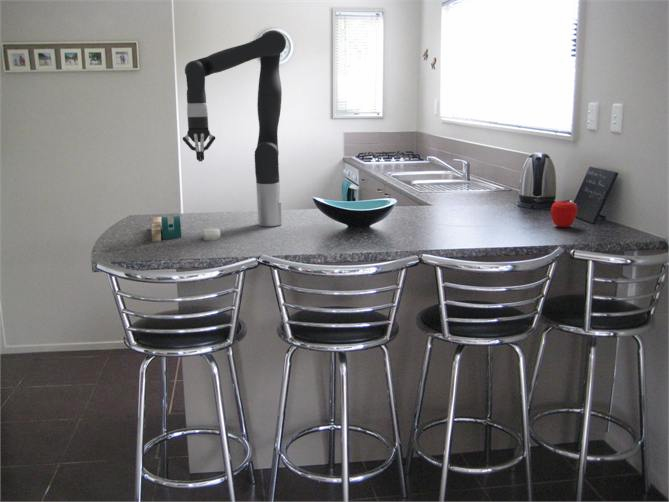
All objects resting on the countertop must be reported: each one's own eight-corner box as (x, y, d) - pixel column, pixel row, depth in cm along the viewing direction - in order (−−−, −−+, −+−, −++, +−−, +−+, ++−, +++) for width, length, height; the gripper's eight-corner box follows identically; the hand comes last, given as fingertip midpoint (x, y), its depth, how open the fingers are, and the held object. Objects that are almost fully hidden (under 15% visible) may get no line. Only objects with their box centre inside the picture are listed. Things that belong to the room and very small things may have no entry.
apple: (545, 227, 259) (547, 199, 256) (556, 223, 266) (558, 196, 263) (569, 230, 253) (571, 202, 250) (580, 226, 259) (582, 199, 257)
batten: (162, 227, 268) (161, 216, 266) (160, 241, 245) (159, 229, 244) (154, 228, 267) (153, 216, 266) (152, 241, 244) (151, 229, 243)
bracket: (181, 238, 250) (179, 217, 248) (162, 239, 249) (161, 218, 247) (179, 228, 267) (178, 209, 265) (162, 229, 266) (160, 210, 264)
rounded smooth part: (220, 236, 253) (219, 227, 252) (221, 240, 246) (220, 230, 246) (202, 237, 251) (202, 228, 250) (203, 241, 245) (202, 231, 244)
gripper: (214, 114, 257) (217, 159, 262) (179, 115, 255) (182, 160, 259) (215, 115, 250) (218, 161, 255) (179, 116, 247) (183, 163, 252)
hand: (200, 161), depth 257 cm, fingers closed
